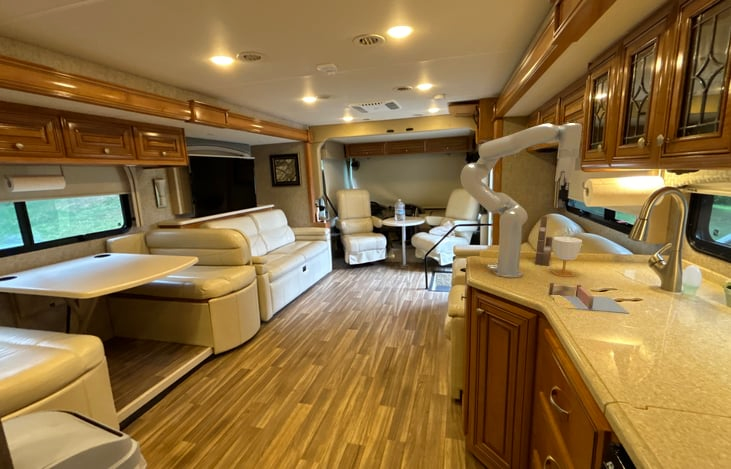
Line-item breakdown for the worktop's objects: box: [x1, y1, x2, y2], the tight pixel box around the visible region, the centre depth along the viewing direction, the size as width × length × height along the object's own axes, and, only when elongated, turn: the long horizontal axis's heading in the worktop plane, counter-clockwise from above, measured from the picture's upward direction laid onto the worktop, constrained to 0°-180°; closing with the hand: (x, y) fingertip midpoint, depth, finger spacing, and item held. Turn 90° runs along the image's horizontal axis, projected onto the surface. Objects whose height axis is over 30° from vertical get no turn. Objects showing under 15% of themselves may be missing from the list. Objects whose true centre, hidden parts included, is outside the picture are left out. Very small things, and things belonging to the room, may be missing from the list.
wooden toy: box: [534, 215, 554, 267], centre depth 176 cm, size 16×7×25 cm, turn 149°
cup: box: [552, 236, 583, 278], centre depth 157 cm, size 12×12×17 cm
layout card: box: [562, 294, 630, 314], centre depth 125 cm, size 22×14×1 cm, turn 76°
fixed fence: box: [548, 282, 582, 297], centre depth 131 cm, size 11×1×5 cm, turn 76°
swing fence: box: [577, 286, 594, 308], centre depth 123 cm, size 11×1×4 cm, turn 167°
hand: (563, 199), depth 140 cm, fingers closed
